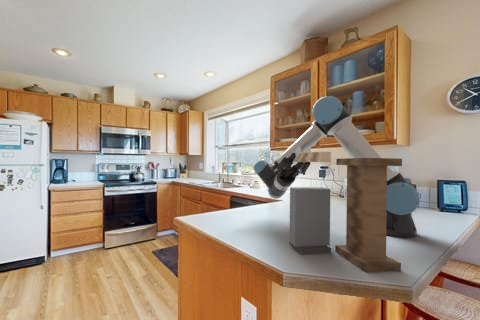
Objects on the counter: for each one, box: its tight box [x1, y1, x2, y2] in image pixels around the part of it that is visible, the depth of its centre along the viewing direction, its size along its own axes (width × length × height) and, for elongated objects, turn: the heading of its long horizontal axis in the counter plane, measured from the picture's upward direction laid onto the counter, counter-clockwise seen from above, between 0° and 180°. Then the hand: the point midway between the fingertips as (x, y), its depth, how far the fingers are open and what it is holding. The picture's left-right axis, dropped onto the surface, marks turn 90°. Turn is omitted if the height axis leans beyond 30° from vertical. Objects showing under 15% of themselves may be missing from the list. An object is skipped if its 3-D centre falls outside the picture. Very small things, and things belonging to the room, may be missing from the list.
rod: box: [295, 151, 332, 163], centre depth 79 cm, size 22×3×3 cm, turn 9°
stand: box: [334, 157, 403, 274], centre depth 70 cm, size 15×10×30 cm, turn 9°
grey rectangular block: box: [288, 186, 332, 255], centre depth 79 cm, size 10×12×20 cm
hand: (304, 150), depth 83 cm, fingers closed on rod, 3 cm apart
